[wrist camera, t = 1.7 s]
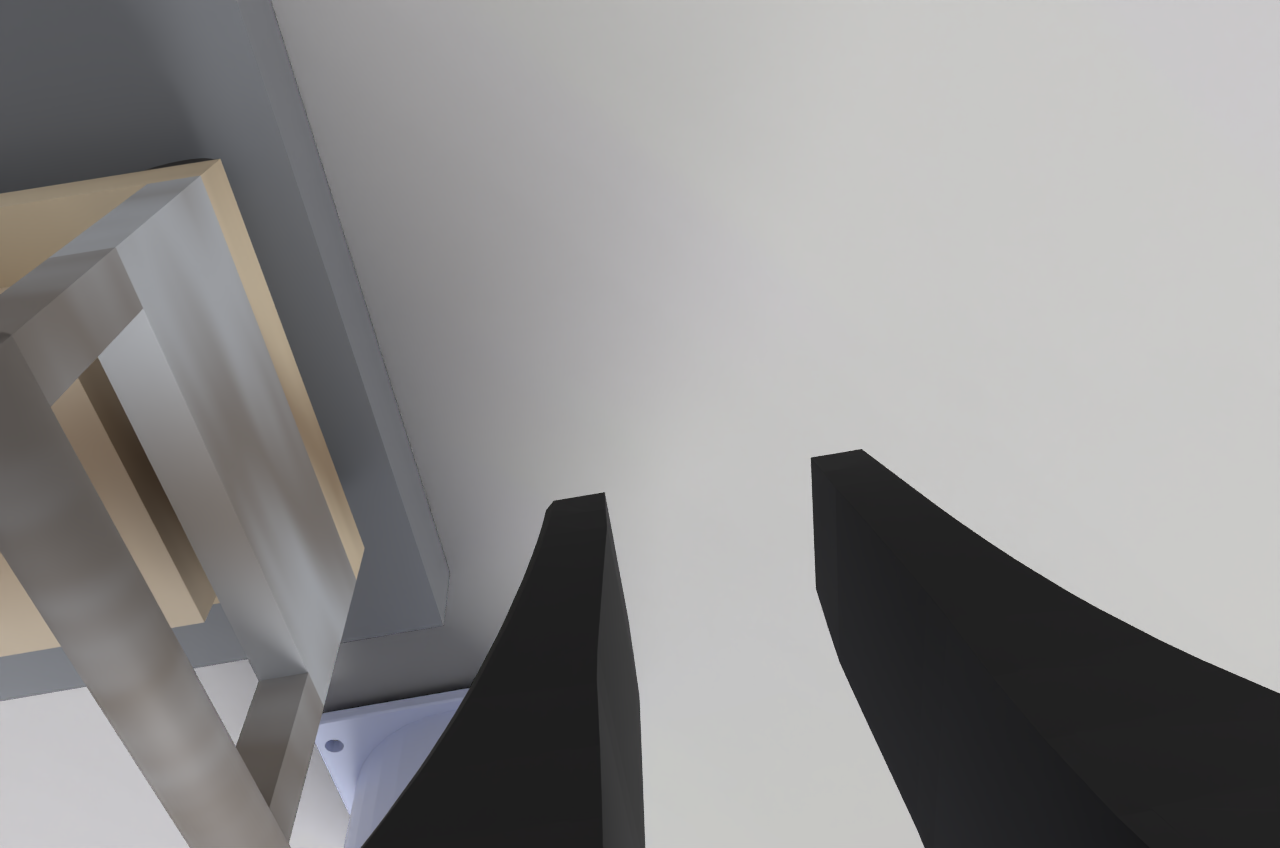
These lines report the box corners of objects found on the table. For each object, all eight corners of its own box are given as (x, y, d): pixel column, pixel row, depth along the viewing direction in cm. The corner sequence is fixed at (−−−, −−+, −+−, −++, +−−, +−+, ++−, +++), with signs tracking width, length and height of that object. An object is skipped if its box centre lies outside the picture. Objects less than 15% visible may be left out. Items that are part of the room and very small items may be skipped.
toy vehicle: (379, 507, 20) (281, 895, 12) (54, 561, 20) (-253, 990, 12) (249, 137, 16) (-23, 371, 8) (-163, 202, 15) (-845, 506, 8)
